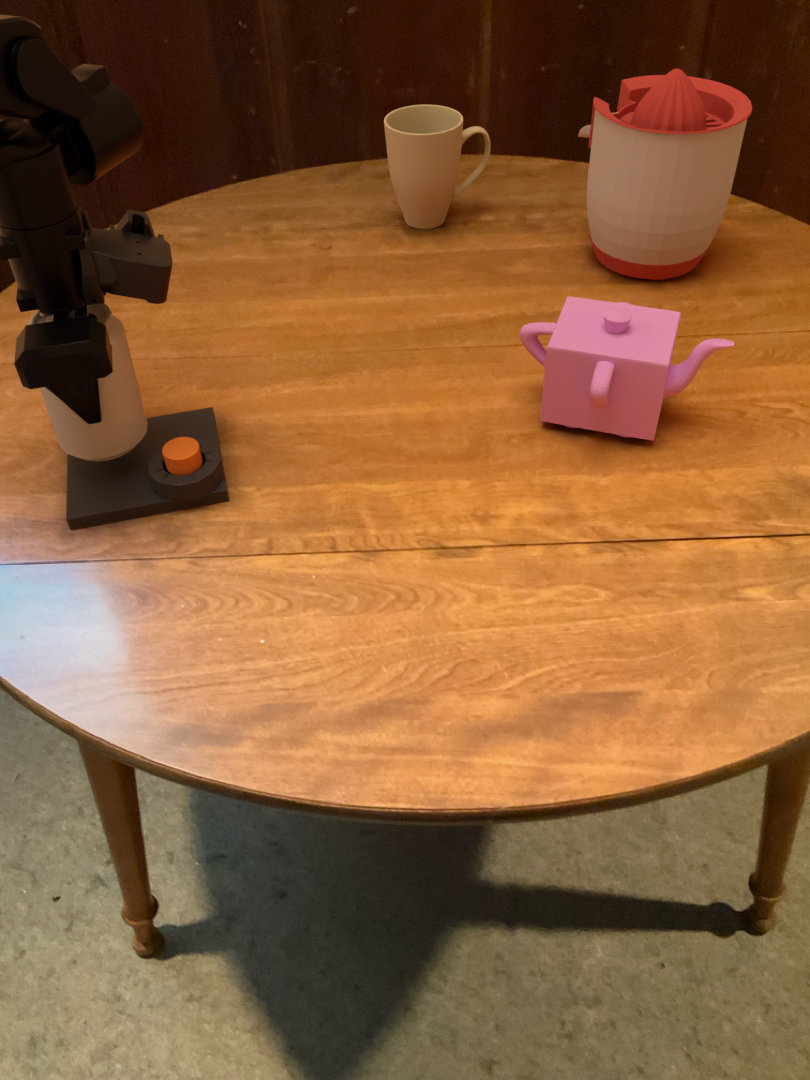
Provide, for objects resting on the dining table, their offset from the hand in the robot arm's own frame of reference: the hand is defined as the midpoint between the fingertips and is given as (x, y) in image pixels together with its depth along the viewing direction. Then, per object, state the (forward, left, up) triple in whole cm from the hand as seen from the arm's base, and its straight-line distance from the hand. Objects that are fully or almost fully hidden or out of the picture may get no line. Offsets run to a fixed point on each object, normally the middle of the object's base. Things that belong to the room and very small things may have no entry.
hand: (94, 394), depth 76 cm
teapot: (+44, -5, -8) cm, 45 cm away
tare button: (+6, -5, -5) cm, 9 cm away
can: (0, 0, -5) cm, 5 cm away
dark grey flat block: (+3, -1, -8) cm, 8 cm away
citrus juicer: (+59, +22, -8) cm, 63 cm away
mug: (+39, +38, -8) cm, 55 cm away
